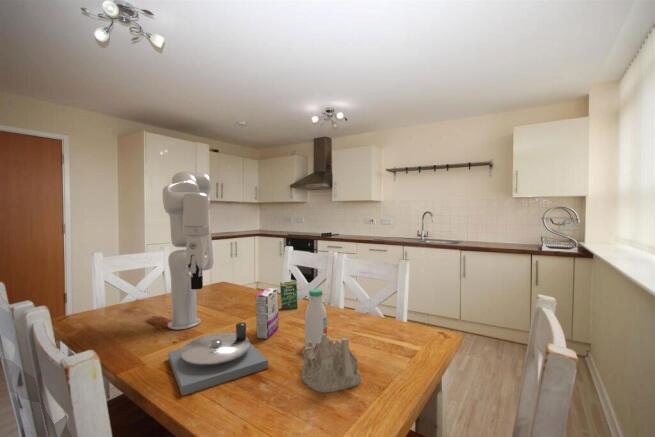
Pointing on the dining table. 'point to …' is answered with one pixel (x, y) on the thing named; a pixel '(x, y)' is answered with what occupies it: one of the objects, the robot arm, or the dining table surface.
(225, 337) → the handwheel
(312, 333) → the milk bottle
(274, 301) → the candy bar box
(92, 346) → the dining table surface
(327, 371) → the grey rough lump
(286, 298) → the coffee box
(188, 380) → the grey base block
